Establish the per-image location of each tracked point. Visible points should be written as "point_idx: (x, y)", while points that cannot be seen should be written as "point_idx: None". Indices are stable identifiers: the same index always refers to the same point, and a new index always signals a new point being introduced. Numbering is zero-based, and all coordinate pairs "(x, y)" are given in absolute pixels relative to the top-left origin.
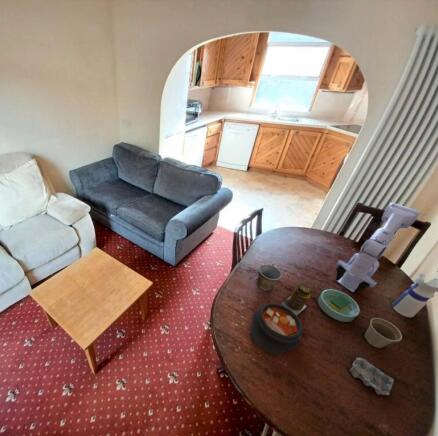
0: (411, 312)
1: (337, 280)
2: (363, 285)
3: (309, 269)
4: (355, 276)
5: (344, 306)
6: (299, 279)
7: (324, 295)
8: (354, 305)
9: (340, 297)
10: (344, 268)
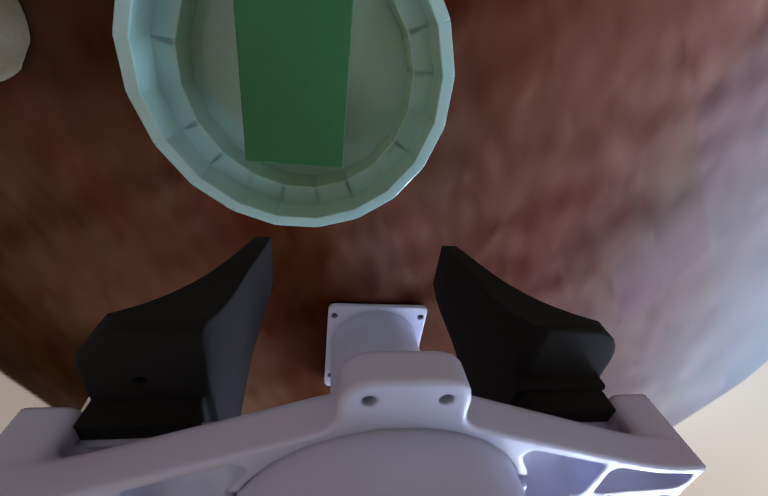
0: (83, 408)
1: (444, 247)
2: (126, 343)
3: (569, 259)
4: (322, 412)
5: (239, 59)
6: (601, 112)
7: (418, 80)
8: (231, 185)
9: (324, 137)
10: (560, 419)
